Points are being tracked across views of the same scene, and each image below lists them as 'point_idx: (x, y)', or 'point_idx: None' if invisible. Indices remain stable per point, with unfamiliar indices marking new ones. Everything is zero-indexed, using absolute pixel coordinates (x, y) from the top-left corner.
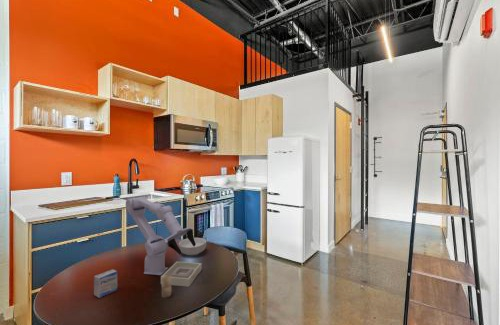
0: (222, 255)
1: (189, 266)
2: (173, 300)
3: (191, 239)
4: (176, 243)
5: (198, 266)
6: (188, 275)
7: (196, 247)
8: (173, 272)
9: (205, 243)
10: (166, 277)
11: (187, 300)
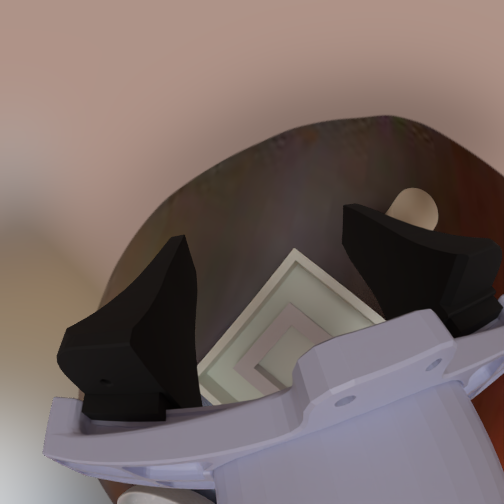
0: None
1: None
2: (373, 186)
3: (175, 285)
4: (406, 238)
5: (209, 356)
6: (278, 316)
7: (165, 495)
8: None
9: (123, 493)
10: (417, 204)
11: (326, 164)
